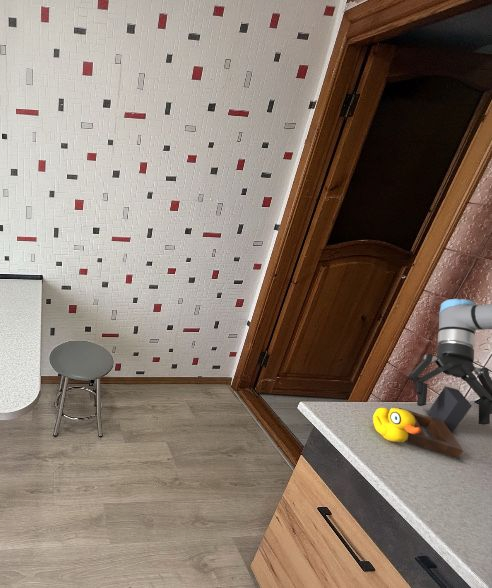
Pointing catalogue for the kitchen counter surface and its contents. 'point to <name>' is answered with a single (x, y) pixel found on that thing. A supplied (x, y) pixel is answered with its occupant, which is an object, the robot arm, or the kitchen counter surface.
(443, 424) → the seat base
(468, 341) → the robot arm
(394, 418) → the duckling
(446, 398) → the dark grey rectangular block
